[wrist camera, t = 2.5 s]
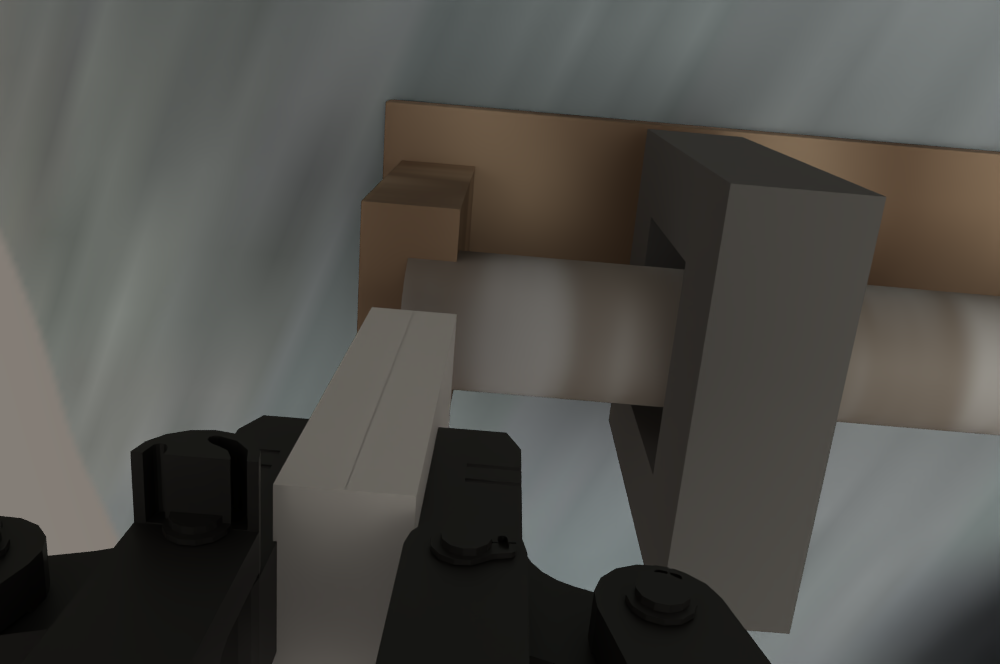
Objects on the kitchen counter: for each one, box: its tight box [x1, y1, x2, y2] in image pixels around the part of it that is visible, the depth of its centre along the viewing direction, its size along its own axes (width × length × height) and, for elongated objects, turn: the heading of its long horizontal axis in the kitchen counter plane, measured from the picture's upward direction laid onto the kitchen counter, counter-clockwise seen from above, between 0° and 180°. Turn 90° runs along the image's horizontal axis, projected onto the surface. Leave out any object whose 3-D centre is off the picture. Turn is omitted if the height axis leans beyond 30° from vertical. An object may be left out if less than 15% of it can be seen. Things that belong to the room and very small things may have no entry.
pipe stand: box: [357, 100, 1000, 435], centre depth 21 cm, size 26×8×9 cm, turn 85°
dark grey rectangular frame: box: [609, 129, 886, 634], centre depth 19 cm, size 2×8×9 cm, turn 175°
